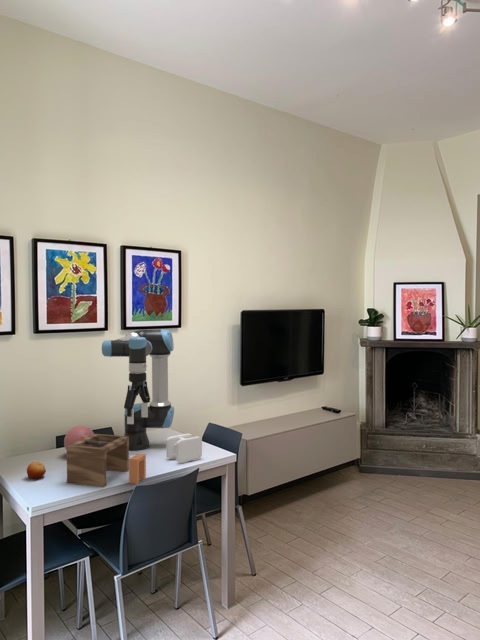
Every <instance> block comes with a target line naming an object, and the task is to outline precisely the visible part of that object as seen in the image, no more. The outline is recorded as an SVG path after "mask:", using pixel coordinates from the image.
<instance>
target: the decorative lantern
mask: <svg viewBox="0 0 480 640" xmlns="http://www.w3.org/2000/svg"><path fill="white" fill-rule="evenodd" d="M93 434H95V432H94V431H93V430H92V429H91V428H90V427H88V426H85V425H77V426H73V427H72V428H70V429H69V430H68V431H67V433H65V436H64V439H63V445H64V449H65V451H67V446H69V445H71V444H73V443H75V442H77V441H80V440H82V439H84V438H86V437H88V436H91V435H93ZM85 446H87V447H92V445H85Z"/></svg>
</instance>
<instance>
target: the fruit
mask: <svg viewBox="0 0 480 640" xmlns="http://www.w3.org/2000/svg"><path fill="white" fill-rule="evenodd" d="M46 471H47V470H46V467H45V465H44V464H43V463H42V462H40V461H32V462H30V463H29V464H28V466H27V468H26V474H27V480H28V479H32V480H40V479H41V478H43V476H45V474H46Z"/></svg>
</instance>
